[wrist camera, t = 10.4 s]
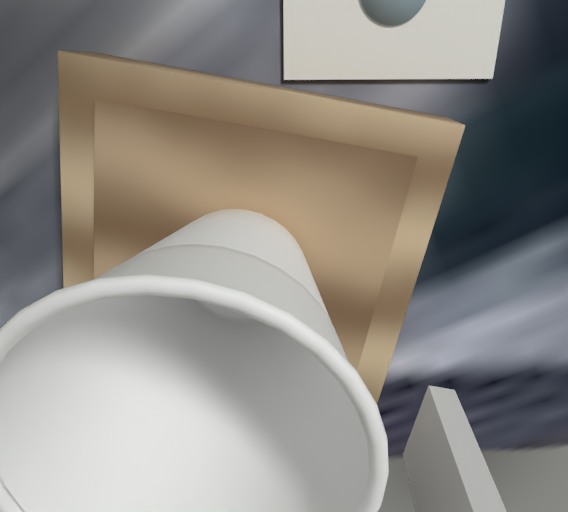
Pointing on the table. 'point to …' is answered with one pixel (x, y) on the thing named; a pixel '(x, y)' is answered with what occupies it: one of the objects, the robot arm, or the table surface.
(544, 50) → the table surface
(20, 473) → the cup
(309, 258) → the plinth block
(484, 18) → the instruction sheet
